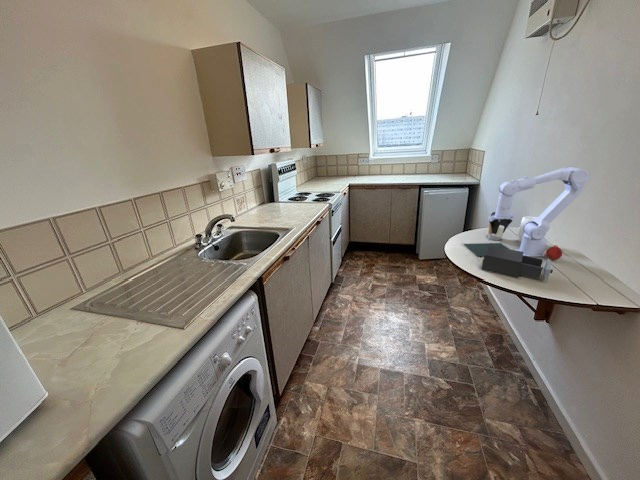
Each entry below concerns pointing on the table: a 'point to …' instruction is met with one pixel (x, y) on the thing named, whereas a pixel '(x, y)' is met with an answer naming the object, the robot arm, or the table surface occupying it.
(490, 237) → the coffee cup
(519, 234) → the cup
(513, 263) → the dark grey stepped box
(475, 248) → the mat
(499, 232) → the container
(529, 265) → the drawer
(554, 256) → the onion
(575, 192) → the robot arm
